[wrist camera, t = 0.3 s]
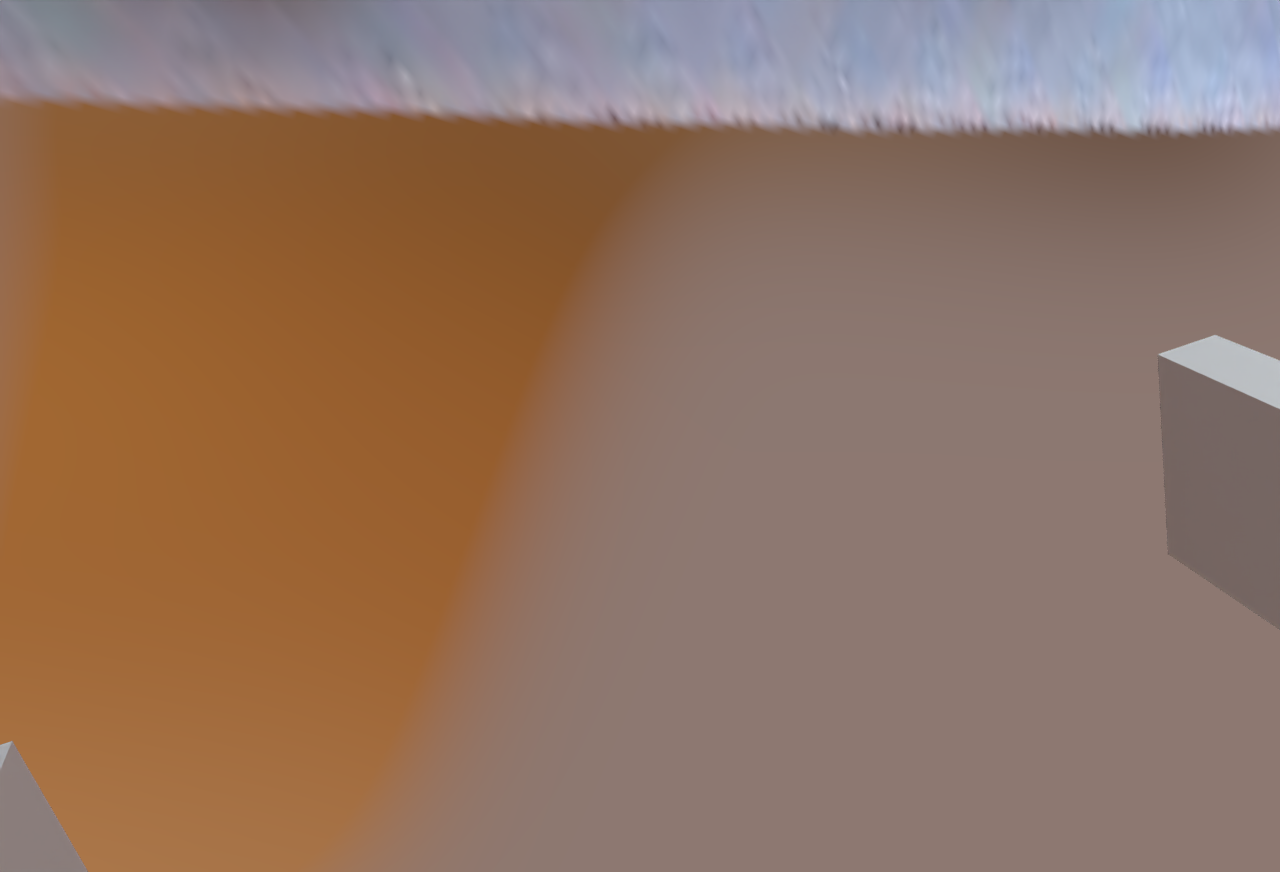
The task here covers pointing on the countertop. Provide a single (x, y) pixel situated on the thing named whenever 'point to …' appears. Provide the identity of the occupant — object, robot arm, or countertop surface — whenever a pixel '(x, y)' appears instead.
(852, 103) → the countertop surface
